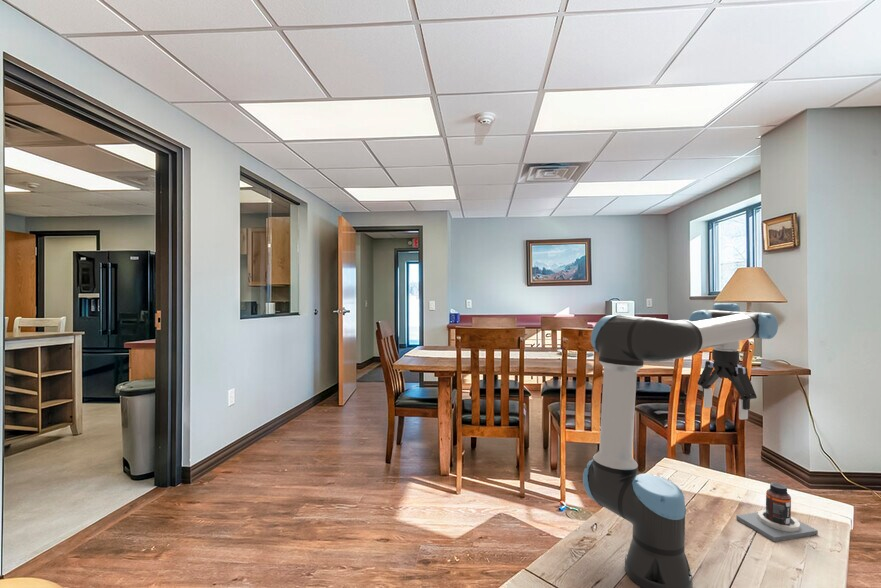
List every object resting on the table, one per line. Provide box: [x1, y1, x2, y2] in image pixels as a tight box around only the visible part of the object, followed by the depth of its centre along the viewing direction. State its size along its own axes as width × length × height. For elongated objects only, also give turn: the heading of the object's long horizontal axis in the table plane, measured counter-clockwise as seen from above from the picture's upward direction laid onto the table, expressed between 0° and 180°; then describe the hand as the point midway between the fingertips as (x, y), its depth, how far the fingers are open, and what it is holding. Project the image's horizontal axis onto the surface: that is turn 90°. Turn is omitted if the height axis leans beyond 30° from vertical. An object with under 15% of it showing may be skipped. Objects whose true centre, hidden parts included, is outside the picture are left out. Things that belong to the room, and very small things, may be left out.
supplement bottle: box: [765, 482, 792, 526], centre depth 129 cm, size 6×6×11 cm
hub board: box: [735, 509, 819, 543], centre depth 129 cm, size 16×12×2 cm
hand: (724, 413), depth 142 cm, fingers open, 13 cm apart
